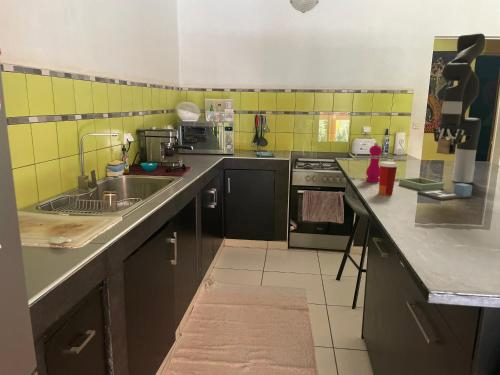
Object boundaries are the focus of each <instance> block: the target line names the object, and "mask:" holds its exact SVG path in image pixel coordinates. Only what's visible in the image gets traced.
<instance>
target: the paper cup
mask: <svg viewBox="0 0 500 375" xmlns="http://www.w3.org/2000/svg"><path fill="white" fill-rule="evenodd" d="M379 167H380V175H379V177H378V178H379V182H378V194H379V195H382V196H392V195H393V191H394V186H395V181H396V180H395V179H396V174H397V169H398V164H397V162H393V161H380V162H379Z"/></svg>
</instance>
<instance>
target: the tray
mask: <svg viewBox="0 0 500 375" xmlns="http://www.w3.org/2000/svg"><path fill="white" fill-rule="evenodd" d="M444 184H445V182H441V181H437V180H432V179H428V178H425V177H412V178H411V177H410V178H409V177H408V178H399V183H398V186H401V187H405V188H408V189H413V190H417V191H427V190H444V187H445V185H444Z"/></svg>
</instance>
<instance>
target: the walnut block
mask: <svg viewBox="0 0 500 375" xmlns="http://www.w3.org/2000/svg"><path fill="white" fill-rule="evenodd" d="M450 142H451V140H449V138H446V139H438V142H437V148H436V154H441V155H447V156H448V155H450V154H449V150H450V145H451V144H450ZM453 142H454V140H453ZM456 148H457V147H456ZM456 148H455V150H456ZM453 155H456V151H455V152H454V154H453Z"/></svg>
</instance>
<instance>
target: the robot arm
mask: <svg viewBox="0 0 500 375" xmlns="http://www.w3.org/2000/svg"><path fill="white" fill-rule="evenodd" d="M485 46H486V37H485V34H484V33H481V32H476V33H468V34H461V35H460V36H458V38H457V42H456V55H455V57H454V59H452V60H451V61H449V62H447V63H446V64H445V65H444V67H443V69H442V70H441V71H442V72H441V73H442V74H441V76H442V79H443V80H444V81H447V82H457V85H455V86H449V87H446V88H445V89H444V95H443V96H444V97H443V103H442V106H441V111H440V112H441V115H440V122H439V124H440V126H439V127H434V128H433V138H434V142H437V143H438V139H449V140H451V142H450V144H451V145H450V150H449V154H448V155H454V156H455V157H454V164H453V171H452V177H451V181H453V182H456V183H464V184H470V183H473V180H474V174H475V167H476V164H475V162H476V154H477V148H478V145H479V144H478V143H479V137H480V133H481V129H482V120H481V118H479V117H478V118H477V117H466V113H467V111H468V110H469V108H470V106H471V105H472V104H473V103H474V102H475V101H476V99H477V98H478V96H479V93H480V79H479V77H478V76H477V74H476V73H475V71H474V70H473V69H472V63H473V61H474V60H475V59H476V58H478V57H479V55H481V54H482V53H483V51H484V50H485ZM464 137H470V138H468V139H467V140H465V141H463V138H464ZM453 140H454V142H453ZM455 148H456V149H455ZM454 152H455V154H454Z"/></svg>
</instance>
